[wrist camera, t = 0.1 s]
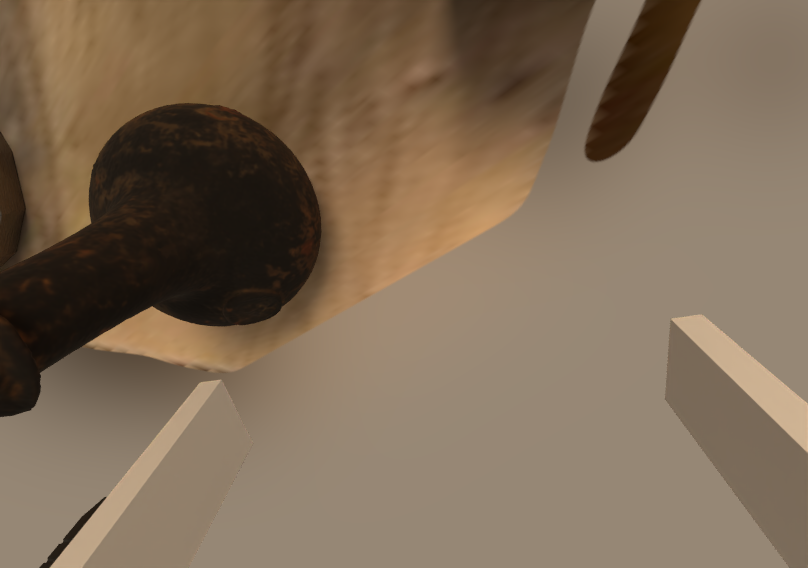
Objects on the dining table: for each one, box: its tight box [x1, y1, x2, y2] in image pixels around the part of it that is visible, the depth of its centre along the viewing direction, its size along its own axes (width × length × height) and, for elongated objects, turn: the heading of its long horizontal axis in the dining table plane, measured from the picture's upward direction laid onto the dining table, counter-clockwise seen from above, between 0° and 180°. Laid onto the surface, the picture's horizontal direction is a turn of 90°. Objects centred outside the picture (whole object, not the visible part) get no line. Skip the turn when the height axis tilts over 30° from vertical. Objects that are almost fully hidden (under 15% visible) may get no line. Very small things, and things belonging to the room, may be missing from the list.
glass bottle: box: [0, 103, 321, 417], centre depth 27 cm, size 18×18×28 cm
